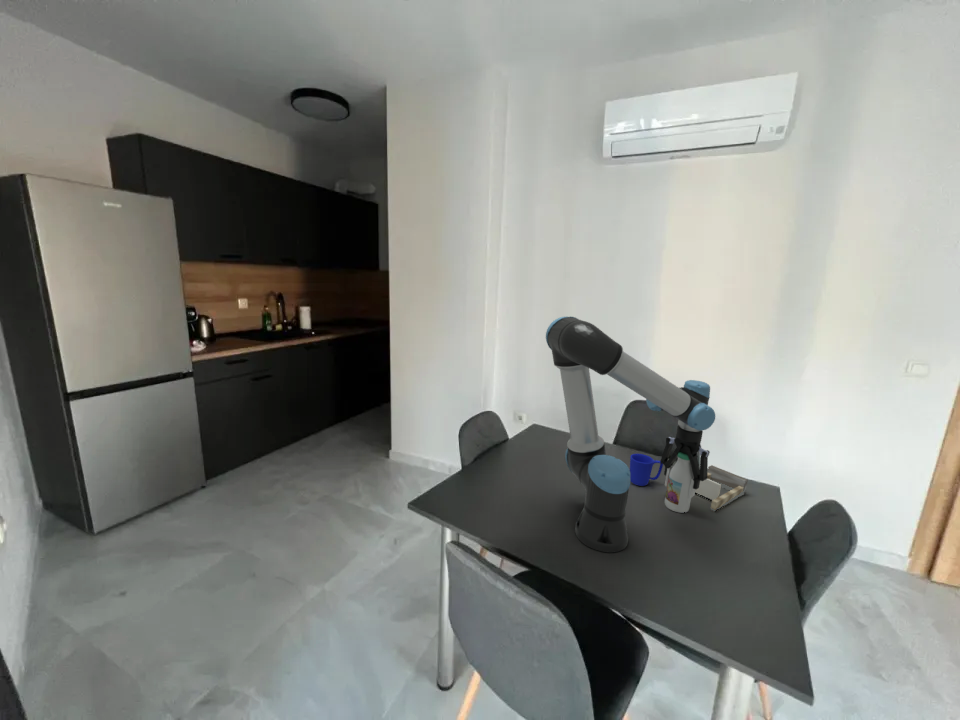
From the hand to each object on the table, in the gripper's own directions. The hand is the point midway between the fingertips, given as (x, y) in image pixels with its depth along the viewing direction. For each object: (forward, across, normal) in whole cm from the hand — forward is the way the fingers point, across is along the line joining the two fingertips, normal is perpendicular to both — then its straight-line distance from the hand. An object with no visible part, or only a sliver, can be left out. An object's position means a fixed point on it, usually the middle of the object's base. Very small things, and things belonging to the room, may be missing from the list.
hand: (679, 490), depth 139 cm
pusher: (+6, -2, -17) cm, 18 cm away
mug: (+6, +16, -5) cm, 18 cm away
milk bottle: (+6, 0, 0) cm, 6 cm away
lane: (+6, -2, -20) cm, 21 cm away
